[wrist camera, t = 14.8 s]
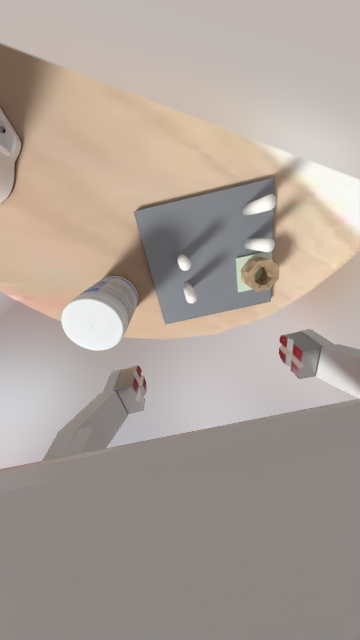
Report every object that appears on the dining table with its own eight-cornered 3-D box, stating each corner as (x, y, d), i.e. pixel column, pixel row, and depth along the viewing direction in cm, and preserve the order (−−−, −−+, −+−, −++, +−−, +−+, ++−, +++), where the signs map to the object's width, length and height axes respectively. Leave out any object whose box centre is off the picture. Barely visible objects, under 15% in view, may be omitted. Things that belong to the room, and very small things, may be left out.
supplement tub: (108, 266, 37) (75, 282, 23) (146, 291, 39) (136, 318, 26) (89, 301, 40) (49, 333, 26) (125, 322, 43) (107, 360, 29)
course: (134, 212, 33) (123, 204, 24) (270, 179, 32) (306, 159, 23) (165, 322, 43) (164, 342, 35) (268, 299, 42) (292, 315, 34)
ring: (240, 261, 36) (248, 263, 32) (268, 255, 36) (279, 257, 32) (241, 288, 39) (249, 293, 35) (267, 282, 38) (278, 287, 35)
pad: (235, 258, 36) (236, 258, 36) (270, 250, 36) (272, 250, 36) (237, 291, 40) (238, 292, 39) (270, 284, 39) (271, 285, 39)
